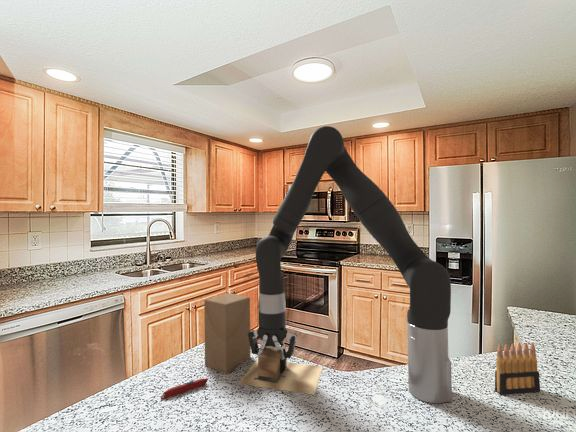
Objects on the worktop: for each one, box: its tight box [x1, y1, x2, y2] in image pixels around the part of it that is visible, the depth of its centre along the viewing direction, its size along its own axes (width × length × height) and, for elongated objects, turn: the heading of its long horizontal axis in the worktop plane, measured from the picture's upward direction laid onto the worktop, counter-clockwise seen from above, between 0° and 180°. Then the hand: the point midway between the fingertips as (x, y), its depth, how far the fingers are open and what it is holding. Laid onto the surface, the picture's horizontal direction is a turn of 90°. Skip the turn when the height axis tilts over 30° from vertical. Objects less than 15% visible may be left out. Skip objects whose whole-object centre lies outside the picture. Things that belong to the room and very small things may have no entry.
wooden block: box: [203, 293, 251, 375], centre depth 91 cm, size 10×10×20 cm
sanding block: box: [257, 344, 287, 382], centre depth 82 cm, size 5×9×6 cm, turn 165°
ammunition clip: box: [494, 342, 541, 396], centre depth 74 cm, size 11×2×12 cm, turn 95°
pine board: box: [238, 358, 324, 395], centre depth 81 cm, size 20×14×2 cm
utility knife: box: [160, 378, 209, 400], centre depth 76 cm, size 12×1×2 cm, turn 124°
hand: (272, 370), depth 82 cm, fingers closed on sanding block, 5 cm apart
